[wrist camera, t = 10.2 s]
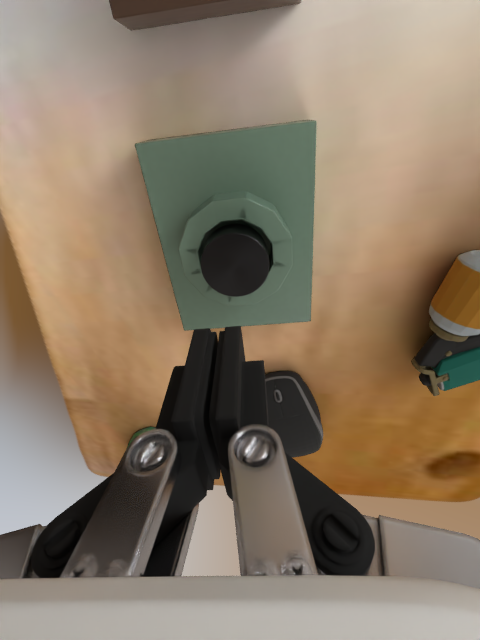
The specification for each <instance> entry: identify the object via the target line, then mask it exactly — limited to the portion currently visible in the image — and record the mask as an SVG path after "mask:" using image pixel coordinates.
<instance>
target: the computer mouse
mask: <svg viewBox="0 0 480 640" xmlns="http://www.w3.org/2000/svg"><path fill="white" fill-rule="evenodd" d="M265 382H266V395H267V410H268V425H269V428H271V429H273V430H274V431H275V432H276V433H277V434H278V435H279V437H280V440H281V442H282V445H283V449H284V452H285V453H286V454H288V455H289V456H290V457H299V456H304V455H308V454H311V453H314V452H316V451H318V450H319V448H320V447H321V444H322V440H323V429H322V424H321V419H320V413H319V409H318V406H317V404H316V402H315V399H314V397H313V395H312V394H311V392H310V390H309V388H308V386H307V385H306V384H305V382H304V381H303V380H302V378H301V377H300V376H299V375H298V374H297V373H295V372H292V371H279V372H273V373H268V374H265Z"/></svg>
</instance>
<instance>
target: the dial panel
mask: <svg viewBox="0 0 480 640" xmlns="http://www.w3.org/2000/svg"><path fill="white" fill-rule="evenodd" d="M109 2H110V6H111V10H112V14H113V18H114V19H115V20H117V21H118V22H119V23H121V24H122V25H124V26H125V27H127V28H128V29H129V30H131V31H132V30H138V29H144V28H151V27H157V26H163V25H169V24H175V23H182V22H188V21H194V20H200V19H207V18H213V17H219V16H225V15H232V14H238V13H244V12H250V11H257V10H263V9H269V8H275V7H282V6H288V5H294V4H299V3H300V2H301V0H109Z"/></svg>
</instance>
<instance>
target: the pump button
mask: <svg viewBox="0 0 480 640" xmlns="http://www.w3.org/2000/svg"><path fill="white" fill-rule="evenodd" d="M269 268H270V263H269V255H268V248H267V245H266V242H265V240H264V239H263V237H262V236H261V235H260V234H259V233H258V232H257V231H256V230H254V229H253V228H251V227H249V226H246V225H243V224H228V225H225V226H222V227H220V228H218V229H217V230H215V231H214V232H213V233H212V234H211V235H210V237H209V238H208V240H207V242H206V244H205V247H204V250H203V253H202V256H201V271H202V274H203V277H204V279H205V280H206V282H207V283H208V285H209V286H210V287H211V288H213V289H214V290H215V291H217V292H219V293H221V294H223V295H226V296H232V297H240V296H245V295H248V294H251V293H253V292H254V291H256V290H257V289H259V288H260V287H261V286H262V285H263V283H264V282H265V280H266V278H267V276H268V273H269Z"/></svg>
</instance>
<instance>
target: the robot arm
mask: <svg viewBox="0 0 480 640" xmlns="http://www.w3.org/2000/svg"><path fill="white" fill-rule="evenodd" d="M220 470H221V472H222V476H223V480H224V484H225V488H226V492H227V495H228V496H229V497H230V498H231V499H232V501H233V505H234V515H235V525H236V535H237V544H238V553H239V564H240V573H241V576H181V575H182V571H183V567H184V563H185V559H186V556H187V552H188V548H189V544H190V540H191V536H192V533H193V529H194V525H195V521H196V517H197V514H198V507H199V502H200V501H201V500H202V499H203V498H204V497H205V496H206V493H207V490H213V485H214V479H219V478H220ZM0 640H480V540H479V539H477V538H474V537H472V536H469V535H466V534H463V533H459V532H454V531H449V530H445V529H440V528H436V527H431V526H427V525H422V524H418V523H413V522H408V521H404V520H399V519H395V518H390V517H386V516H381V515H379V517H378V518H374V517H370V516H365V515H362V514H360V512H359V511H358V510H357V509H356V508H354V507H353V506H352V505H351V504H349V503H348V502H347V501H345V500H344V499H343V498H342V497H340V496H339V495H338V494H337V493H335V492H334V491H333V490H332V489H330V488H329V487H328V486H327V485H325V484H324V483H323V482H322V481H320V480H319V479H318V478H317V477H315V476H314V475H313V474H312V473H310V472H309V471H308V470H307V469H305V468H304V467H303V466H301V465H300V464H299V463H298V462H296V461H295V460H294V459H293V458H291V457H290V456H289V455H288V454H286V453H285V452H284V449H283V445H282V442H281V440H280V437H279V435H278V434H277V433H276V432H275V431H274V430H273V429H271V428H269V425H268V410H267V395H266V382H265V370H264V360H262V361H247V362H245V355H244V347H243V339H242V332H241V326H232V327H225V331H220V333H219V341H218V339H217V334H216V332H211V330H210V328H206V329H195V330H194V332H193V336H192V340H191V344H190V348H189V352H188V356H187V360H186V364H185V366H175V367H174V369H173V372H172V375H171V378H170V382H169V385H168V388H167V392H166V395H165V399H164V402H163V405H162V409H161V412H160V415H159V419H158V422H157V426H156V429H153V430H150V431H146V432H144V433H142V434H141V435H139V436H138V437H136V438H135V439H134V440H133V441H132V442H131V443H130V445H129V446H128V448H127V449H126V451H125V453H124V455H123V457H122V459H121V461H120V463H119V465H118V467H117V469H116V470H115V472H114V473H113V474H112V475H111V476H109V477H108V478H107V479H106V480H104V481H103V482H102V483H101V484H99V485H98V486H97V487H95V488H94V489H92V490H91V491H90V492H89V493H87V494H86V495H85V496H84V497H82V498H81V499H79V500H78V501H77V502H76V503H74V504H73V505H72V506H70V507H69V508H68V509H66V510H65V511H64V512H63V513H61V514H60V515H59V516H57V517H56V518H55V519H54V520H53V521H52V522H50V523H49V524H48V525H47V526H44V527H43V526H41V525H40V524H38V525H34V526H30V527H27V528H24V529H20V530H16V531H13V532H9V533H5V534H2V535H0Z"/></svg>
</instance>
